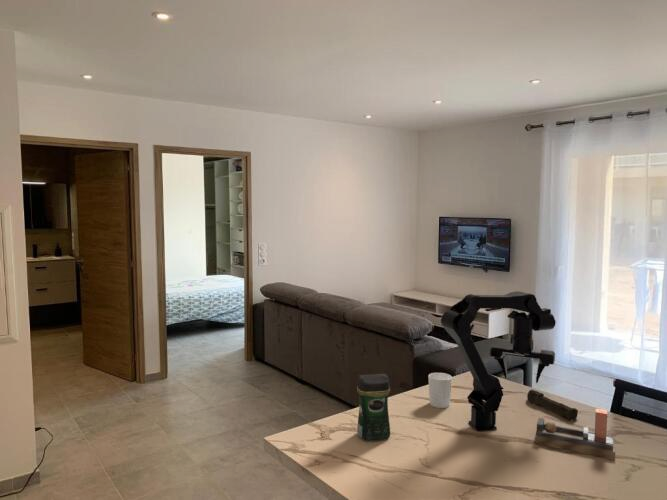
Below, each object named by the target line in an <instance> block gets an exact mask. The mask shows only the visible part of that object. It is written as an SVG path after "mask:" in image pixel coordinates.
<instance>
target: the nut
mask: <svg viewBox="0 0 667 500" xmlns="http://www.w3.org/2000/svg"><path fill="white" fill-rule="evenodd" d="M556 426H557V425H556V424H555V423H554V422H552V421H548V422H546V423H545V430H546V432H549V433H555V432H556Z"/></svg>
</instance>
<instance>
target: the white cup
mask: <svg viewBox="0 0 667 500" xmlns="http://www.w3.org/2000/svg"><path fill="white" fill-rule="evenodd" d="M452 378H453V377H452V375H451V374H449V373H445V372H431V373H429V374H428V395H429V405H430V406H431V407H433V408H437V409H446V408H449V407H450V405H451V395H452V394H451V393H452V384H453V383H452V380H453V379H452Z"/></svg>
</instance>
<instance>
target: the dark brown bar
mask: <svg viewBox="0 0 667 500" xmlns="http://www.w3.org/2000/svg"><path fill="white" fill-rule="evenodd" d="M526 399H527V400H528V402H530V403H531V404H533V405H535V406H537V407H543V408H545V409H547V410H549V411H552V413H553V412H554V413H556V414H558V415H561V416H562V417H564V418H567V420H569V421H570V422H571V421H574V420H575V421H576V420H577V418H578V413H579V411H578V409H577V408H575V407H571V406H568V405H566V404H564V403H561V402H558V401H556V400H553V399H551V398H549V397H547V396H545V395H544V393H542V392H540V391H537V390H535V389H530V390H529V391H528V393H527V397H526Z"/></svg>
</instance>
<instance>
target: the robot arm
mask: <svg viewBox="0 0 667 500" xmlns="http://www.w3.org/2000/svg"><path fill="white" fill-rule="evenodd" d="M480 309H512V311H511V312H510V313H509V314H508V315H506V316H507V318H509V319H511V320H512V319H513V320H512V322H513V325H512V333H511V334H510V340H509V342H510V344H511V345H512V349H511V348H506V345H504V344H498V343H497V344H496V343H494V344H493V345H492V346H491V347H490V350H489V356H490V357H494V358H493V359H494V360H496V361H497V362H498V364H499V366H500V368H501V370H502V374H503V376H504V378H505V379H507V378H508V367H507V366H508V365H507V355H508V356H512V357H513V356H515V357H522V358H531V359H537V360H539V362H538V363H537V365H538V366H537V371H536V377H535V383H536V384H538V382H539V380H540V378H541V375H542V372H543V371H544V370H545V367H550V365H554V364H555V360H556V352H554V351H553V350H546V349H541V350H540V352H536V351H534V339H533V332H540V331H549V330H550V331H551V330H553V329H554V328H555V326H556V322H557V321H556V319H555V317H554V315H553V313H552V310H551V308H545V307H544V308H541V306H540V305H539V302H538V300H537V297H536V295H535V294H532V293H529V292H523V291H519V290H517V291H511V292H509V293H507V294H472V293H471V294H470V293H469V294H467V295H465V296H464V297H463V298H462V299H461V300H460V301H458V302H456V303H455V304H453V305H452V306H451V307H450V308H448V310H446V311H444V313H443V314H442V316H441V319H440V323H441V326H442V328H444V330H445V331H446V333H447V334H448V335H449V336H450V337H451V338H452V339H453V340H454V341H455V343H456V344H457V347H458V348H459V351H460V353H461V355H462V357H463V359H464V361H465V363H466V366H467V367H468V370H469V372H470V374H471V376H472V378H473V380H472V386H473V390H472V391H471V392H470V393H469V394H468V395H467V398H466V399H467V402H468V404H470V405H471V406H470V408H471V411H470V412H471V414H470V420H468V424H469V425H470V426H472V428H474V429H475V430H476V431H477V432H485V431H493V430H495V431H496V430H498V428H497V425H496V424H497V423H496V422H497V421H496V418H497V417H496V415H497V412H498V411H499V408H500V406H501V402H502V400H503V399H502V398H503V396H504V391H503V390H504V387H503V386H502V385H501V381H500V380H499V377H497V376H494V375H492V374H491V373H489V372H488V371H487V367H486V366H485V364H484V362H483V359H482V357H481V355H480V354H479V351H478V349H477V347H476V345H475V343H474V340H473V338H472V326H471V324H472V323H473V322H474V321H475V319H476V318H477V314H478V312H479V311H480ZM520 311H521V312H520Z"/></svg>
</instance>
